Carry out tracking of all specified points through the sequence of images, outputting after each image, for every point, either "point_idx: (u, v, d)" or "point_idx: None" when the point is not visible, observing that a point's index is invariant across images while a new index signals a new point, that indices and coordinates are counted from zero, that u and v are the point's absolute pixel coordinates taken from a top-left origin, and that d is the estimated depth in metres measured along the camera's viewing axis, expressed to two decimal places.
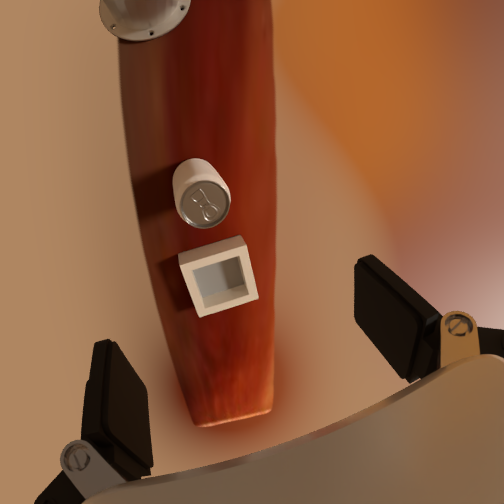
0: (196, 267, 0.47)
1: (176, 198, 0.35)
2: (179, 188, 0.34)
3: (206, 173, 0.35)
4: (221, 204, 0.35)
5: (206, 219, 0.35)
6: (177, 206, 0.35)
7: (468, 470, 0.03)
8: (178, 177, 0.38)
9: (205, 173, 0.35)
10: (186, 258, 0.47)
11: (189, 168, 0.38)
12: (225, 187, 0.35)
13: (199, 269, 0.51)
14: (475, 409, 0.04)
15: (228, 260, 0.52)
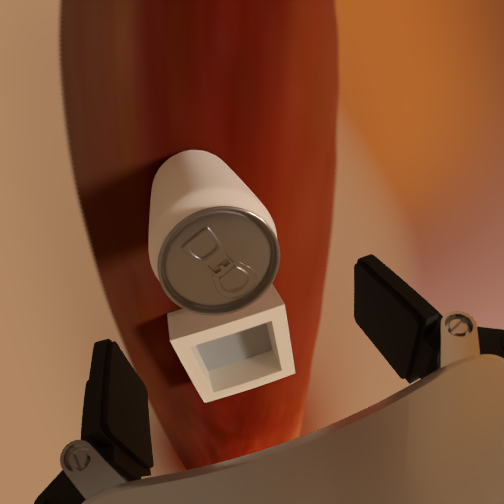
0: (199, 342, 0.27)
1: (150, 247, 0.14)
2: (156, 223, 0.14)
3: (222, 185, 0.14)
4: (258, 263, 0.15)
5: (222, 296, 0.15)
6: (153, 266, 0.14)
7: (468, 470, 0.03)
8: (158, 190, 0.17)
9: (220, 185, 0.14)
10: (180, 326, 0.27)
11: (181, 171, 0.17)
12: (268, 220, 0.15)
13: None
14: (475, 409, 0.04)
15: None
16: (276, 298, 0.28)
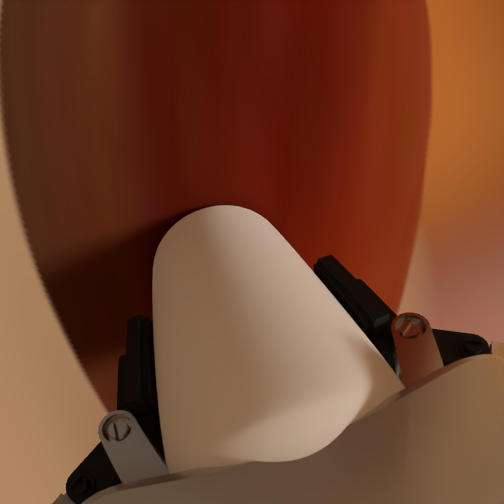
0: None
1: None
2: (184, 460, 0.05)
3: (342, 378, 0.05)
4: None
5: None
6: None
7: (468, 470, 0.03)
8: (168, 321, 0.08)
9: (337, 380, 0.05)
10: None
11: (216, 284, 0.08)
12: None
13: None
14: (475, 409, 0.04)
15: None
16: None
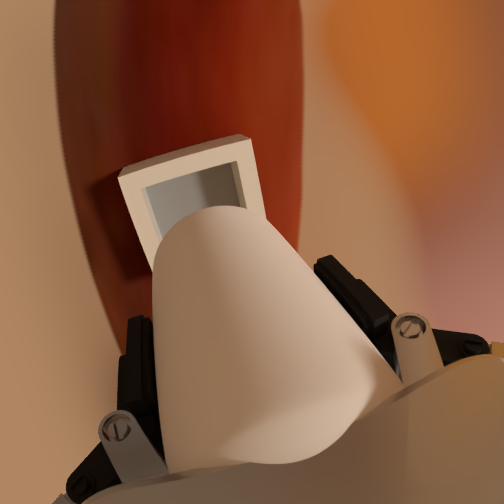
0: (150, 182, 0.22)
1: None
2: (184, 462, 0.05)
3: (343, 379, 0.05)
4: None
5: None
6: None
7: (468, 470, 0.03)
8: (168, 322, 0.08)
9: (338, 381, 0.05)
10: (133, 168, 0.23)
11: (216, 284, 0.08)
12: None
13: (162, 197, 0.26)
14: (475, 409, 0.04)
15: (216, 181, 0.27)
16: (242, 138, 0.24)
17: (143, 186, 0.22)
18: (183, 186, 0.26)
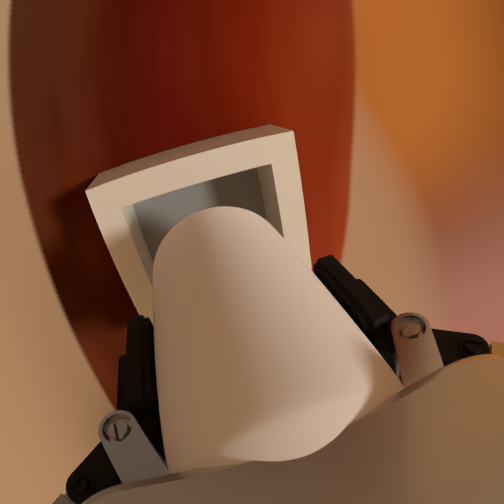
0: (136, 197, 0.14)
1: None
2: (185, 463, 0.05)
3: (343, 381, 0.05)
4: None
5: None
6: None
7: (468, 470, 0.03)
8: (168, 323, 0.08)
9: (338, 383, 0.05)
10: (111, 175, 0.14)
11: (217, 286, 0.08)
12: None
13: (156, 217, 0.18)
14: (475, 409, 0.04)
15: (235, 193, 0.19)
16: (278, 130, 0.15)
17: (125, 204, 0.14)
18: (187, 200, 0.18)
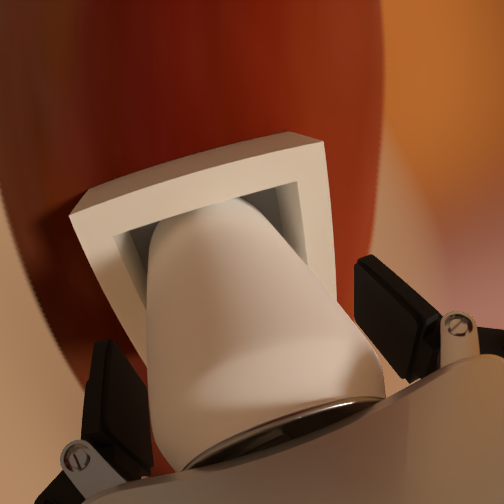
0: (131, 223, 0.11)
1: (156, 434, 0.06)
2: (164, 403, 0.06)
3: (307, 327, 0.06)
4: None
5: None
6: (165, 458, 0.06)
7: (468, 470, 0.03)
8: (159, 288, 0.09)
9: (302, 329, 0.06)
10: (100, 195, 0.12)
11: (202, 254, 0.09)
12: (382, 378, 0.07)
13: None
14: (475, 409, 0.04)
15: None
16: (304, 139, 0.13)
17: (118, 231, 0.11)
18: None
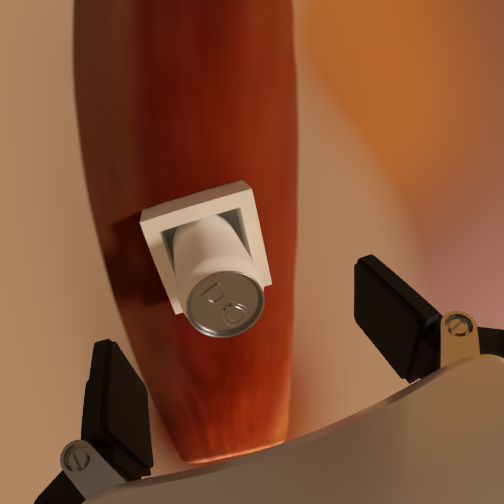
0: (167, 226, 0.27)
1: (180, 293, 0.22)
2: (184, 278, 0.22)
3: (227, 254, 0.22)
4: (250, 304, 0.23)
5: (227, 325, 0.23)
6: (182, 305, 0.22)
7: (468, 470, 0.03)
8: (181, 250, 0.25)
9: (225, 254, 0.22)
10: (152, 213, 0.28)
11: (198, 237, 0.25)
12: (257, 276, 0.23)
13: None
14: (475, 409, 0.04)
15: None
16: (245, 187, 0.29)
17: (161, 229, 0.27)
18: None
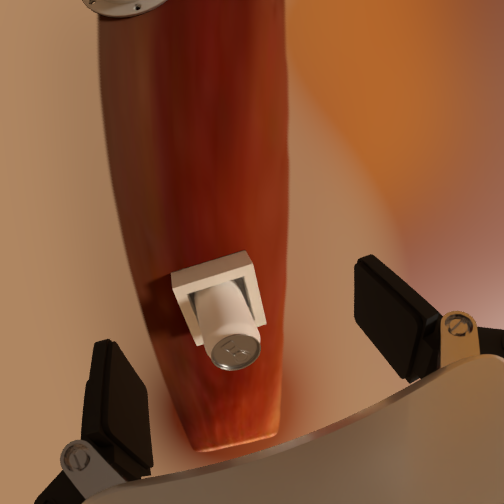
0: (192, 290, 0.39)
1: (206, 344, 0.34)
2: (209, 336, 0.33)
3: (236, 321, 0.34)
4: (251, 350, 0.34)
5: (236, 362, 0.35)
6: (207, 351, 0.34)
7: (468, 470, 0.03)
8: (204, 311, 0.37)
9: (235, 321, 0.34)
10: (180, 279, 0.39)
11: (215, 302, 0.37)
12: (256, 333, 0.34)
13: None
14: (475, 409, 0.04)
15: None
16: (247, 260, 0.40)
17: (188, 292, 0.39)
18: None
